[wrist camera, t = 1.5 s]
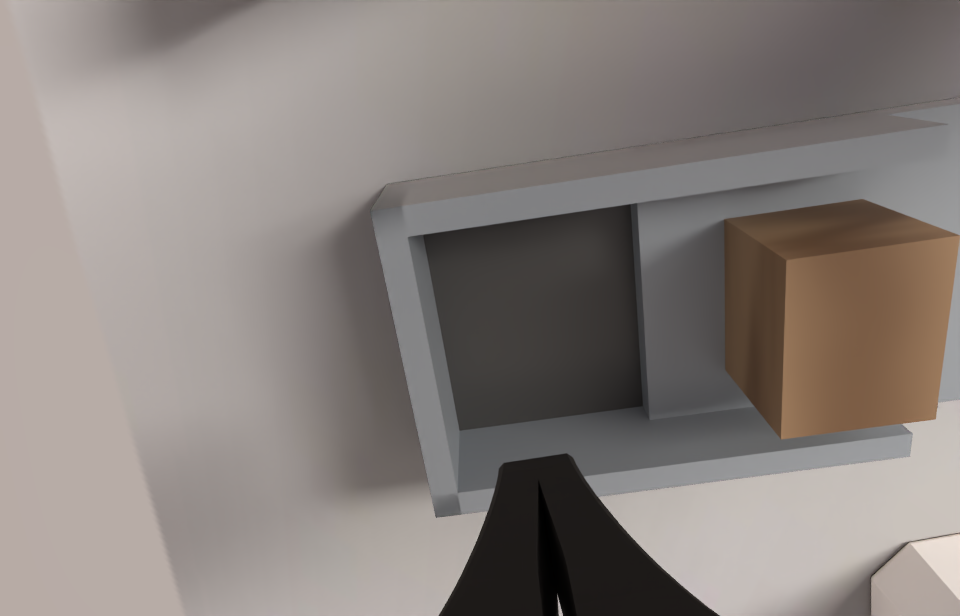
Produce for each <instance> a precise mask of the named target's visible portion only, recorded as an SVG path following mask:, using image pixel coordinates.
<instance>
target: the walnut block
mask: <svg viewBox="0 0 960 616" xmlns="http://www.w3.org/2000/svg"><path fill="white" fill-rule="evenodd" d="M959 240H960V235H958V234H955V233H952V232H950V231H947V230H944V229H942V228H939V227H936V226H934V225H931V224H928V223H926V222H923V221H920V220H918V219H915V218H912V217H910V216H907V215H904V214H902V213H899V212H896V211H894V210H891V209H888V208H886V207H883V206H880V205H878V204H875V203H872V202H870V201H867V200H864V199H858V200H851V201H845V202H838V203H831V204H824V205H817V206H810V207H803V208H797V209H790V210H783V211H776V212H769V213H762V214H755V215H749V216H742V217H735V218H728V219H724V258H725V370H726V371H727V373H728V374H729V375H730V376H731V378H732V379H733V380H734V381H735V383H736V384H737V385H738V386H739V388H740V389H741V390H742V391H743V393H744V394H745V395H746V396H747V398H748V399H749V400H750V401H751V403H752V404H753V405H754V406H755V408H756V409H757V410H758V411H759V413H760V414H761V415H762V416H763V418H764V419H765V420H766V421H767V423H768V424H769V425H770V426H771V428H772V429H773V430H774V431H775V433H776V434H777V435H778V436H779V438H780V439H789V438H797V437H804V436H812V435H819V434H827V433H835V432H842V431H850V430H858V429H865V428H873V427H880V426H888V425H896V424H903V423H911V422H919V421H926V420H934V419H936V412H937V405H938V397H939V390H940V382H941V375H942V368H943V360H944V353H945V345H946V338H947V330H948V323H949V315H950V308H951V300H952V293H953V285H954V278H955V270H956V263H957V255H958V248H959Z"/></svg>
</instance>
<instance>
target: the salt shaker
mask: <svg viewBox="0 0 960 616" xmlns="http://www.w3.org/2000/svg"><path fill="white" fill-rule="evenodd" d="M871 616H960V533H959V534H954V535H948V536H942V537H937V538H931V539H926V540H920V541H915V542H909V543H908V544H907V545H906V546H905V547H903V548H902V549H901V550H900V551H899V552H898V553H897V554H896V555H895V556H894V557H893V558H891V559H890V560H889V561H888V562H887V563H886V564H885V565H884V566H883V567H882V568H881V569H879V570H878V571H877V572H876V573H875V574H874V575H873V576H872V577H871Z"/></svg>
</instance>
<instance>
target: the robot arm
mask: <svg viewBox="0 0 960 616" xmlns="http://www.w3.org/2000/svg"><path fill="white" fill-rule="evenodd" d="M557 594H558V598H559V602H560V605H561V609H562V613H563V616H719V615H718V614H717V613H715V612H714V611H712V610H711V609H710V608H708V607H707V606H706V605H704V604H703V603H702V602H701V601H700V600H698V599H697V598H696V597H695V596H693V595H692V594H691V593H690V592H689V591H687V590H686V589H685V588H684V587H683V586H681V585H680V584H679V583H678V582H677V581H676V580H675V579H674V578H672V577H671V576H670V575H669V574H668V573H667V572H666V571H665V570H664V569H662V568H661V567H660V566H659V565H658V564H657V563H656V562H655V561H654V560H653V559H652V558H651V557H650V556H649V555H648V554H647V553H646V552H645V551H644V550H643V549H642V548H641V547H640V546H639V545H638V544H637V543H636V541H635V540H634V539H633V538H632V537H631V536H630V535H629V534H628V533H627V532H626V531H625V529H624V528H623V527H622V526H621V525H620V524H619V523H618V521H617V520H616V519H615V518H614V517H613V515H612V514H611V513H610V512H609V510H608V509H607V508H606V507H605V506H604V504H603V503H602V502H601V500H600V499H599V498H598V497H597V495H596V494H595V492H594V491H593V490H592V488H591V487H590V485H589V484H588V483H587V481H586V479H585V478H584V476H583V475H582V473H581V472H580V470H579V468H578V466H577V465H576V463H575V461H574V458H573V457H572V456H570V455H569V454H567V453H565V454H558V455H552V456H545V457H538V458H532V459H525V460H519V461H512V462H506V463H503V464H502V465H501V467H500V468H499V471H498V477H497V482H496V486H495V490H494V494H493V497H492V501H491V504H490V507H489V510H488V513H487V516H486V518H485V521H484V524H483V526H482V529H481V532H480V534H479V537H478V539H477V542H476V544H475V546H474V549H473V551H472V553H471V555H470V557H469V559H468V562H467V564H466V566H465V568H464V570H463V572H462V575H461V577H460V579H459V580H458V582H457V584H456V586H455V588H454V590H453V592H452V594H451V595H450V597H449V599H448V601H447V603H446V604H445V606H444V608H443V609H442V611H441V613H440V615H439V616H559V614H558V598H557Z"/></svg>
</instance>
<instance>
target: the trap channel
mask: <svg viewBox="0 0 960 616" xmlns="http://www.w3.org/2000/svg"><path fill="white" fill-rule="evenodd" d="M858 199H864V200H867V201H870V202H872V203H875V204H878V205H880V206H883V207H886V208H888V209H891V210H894V211H896V212H899V213H902V214H904V215H907V216H910V217H912V218H915V219H918V220H920V221H923V222H926V223H928V224H931V225H934V226H936V227H939V228H942V229H944V230H947V231H950V232H952V233H955V234H958V235H960V97H959V98H953V99H946V100H939V101H933V102H926V103H920V104H913V105H906V106H900V107H893V108H887V109H880V110H873V111H867V112H860V113H854V114H847V115H840V116H834V117H827V118H821V119H814V120H807V121H801V122H794V123H787V124H781V125H774V126H768V127H761V128H754V129H748V130H741V131H735V132H728V133H721V134H715V135H708V136H702V137H695V138H688V139H682V140H675V141H669V142H662V143H655V144H649V145H642V146H635V147H629V148H622V149H616V150H609V151H602V152H596V153H589V154H583V155H576V156H569V157H563V158H556V159H550V160H543V161H536V162H530V163H523V164H517V165H510V166H503V167H497V168H490V169H484V170H477V171H470V172H464V173H457V174H450V175H444V176H437V177H431V178H424V179H417V180H411V181H404V182H398V183H391V184H387V185H386V186H385V188H384V190H383V191H382V193H381V194H380V196H379V198H378V199H377V201H376V202H375V204H374V205H373V207H372V209H371V210H370V213H371V218H372V222H373V227H374V232H375V236H376V241H377V246H378V250H379V255H380V260H381V264H382V269H383V274H384V278H385V283H386V288H387V292H388V297H389V302H390V306H391V311H392V316H393V320H394V325H395V329H396V334H397V339H398V343H399V348H400V353H401V357H402V362H403V367H404V371H405V376H406V381H407V385H408V390H409V395H410V399H411V404H412V409H413V413H414V418H415V423H416V427H417V432H418V437H419V441H420V446H421V451H422V455H423V460H424V465H425V469H426V474H427V479H428V483H429V488H430V492H431V497H432V502H433V506H434V511H435V516H436V518H437V517H445V516H453V515H461V514H468V513H476V512H484V511H488V510H489V507H490V504H491V501H492V497H493V494H494V490H495V486H496V482H497V477H498V471H499V468H500V467H501V465H502V464H503V463H506V462H512V461H519V460H525V459H532V458H538V457H545V456H552V455H558V454H565V453H567V454H569V455H570V456H572V457H573V458H574V461H575V463H576V465H577V466H578V468H579V470H580V472H581V473H582V475H583V476H584V478H585V479H586V481H587V483H588V484H589V485H590V487H591V488H592V490H593V491H594V492H595V494H596V495H597V497H600V496H608V495H616V494H624V493H631V492H639V491H647V490H655V489H662V488H670V487H678V486H686V485H693V484H701V483H709V482H717V481H724V480H732V479H740V478H748V477H755V476H763V475H771V474H779V473H786V472H794V471H802V470H810V469H818V468H825V467H833V466H841V465H849V464H856V463H864V462H872V461H880V460H887V459H895V458H903V457H910V451H911V443H912V435H913V434H912V433H911V432H910V431H909V430H908V429H907V428H905V427H904V426H903V425H902V424H896V425H888V426H880V427H873V428H865V429H858V430H850V431H842V432H835V433H827V434H819V435H812V436H804V437H797V438H789V439H780V438H779V436H778V435H777V434H776V433H775V431H774V430H773V429H772V428H771V426H770V425H769V424H768V423H767V421H766V420H765V419H764V418H763V416H762V415H761V414H760V413H759V411H758V410H757V409H756V408H755V406H754V405H753V404H752V403H751V401H750V400H749V399H748V398H747V396H746V395H745V394H744V393H743V391H742V390H741V389H740V388H739V386H738V385H737V384H736V383H735V381H734V380H733V379H732V378H731V376H730V375H729V374H728V373H727V371H726V370H725V258H724V219H728V218H735V217H742V216H749V215H755V214H762V213H769V212H776V211H783V210H790V209H797V208H803V207H810V206H817V205H824V204H831V203H838V202H845V201H851V200H858ZM953 400H960V240H959V248H958V255H957V263H956V270H955V278H954V285H953V293H952V300H951V308H950V315H949V323H948V330H947V338H946V345H945V353H944V360H943V368H942V375H941V382H940V390H939V397H938V402H946V401H953Z"/></svg>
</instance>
